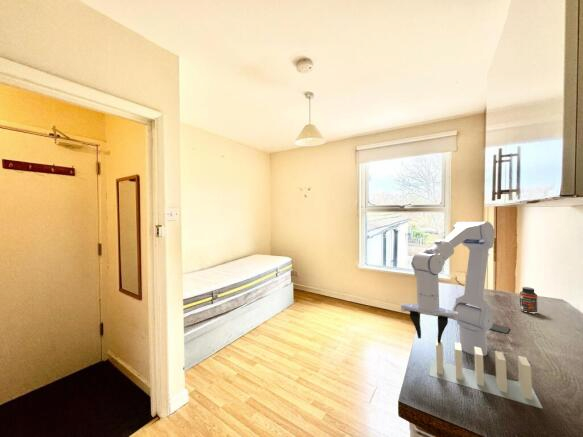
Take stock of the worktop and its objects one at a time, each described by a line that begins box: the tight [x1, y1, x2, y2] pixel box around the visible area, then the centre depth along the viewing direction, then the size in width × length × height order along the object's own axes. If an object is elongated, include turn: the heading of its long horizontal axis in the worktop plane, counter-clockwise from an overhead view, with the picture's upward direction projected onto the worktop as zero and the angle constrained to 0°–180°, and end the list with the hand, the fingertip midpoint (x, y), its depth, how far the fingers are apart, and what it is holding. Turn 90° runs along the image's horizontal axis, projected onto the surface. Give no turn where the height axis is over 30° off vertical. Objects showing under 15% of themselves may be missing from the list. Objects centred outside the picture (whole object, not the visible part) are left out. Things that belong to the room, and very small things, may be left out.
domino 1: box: [454, 341, 463, 380], centre depth 66 cm, size 4×2×8 cm, turn 146°
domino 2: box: [473, 346, 485, 386], centre depth 64 cm, size 4×2×8 cm, turn 146°
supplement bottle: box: [519, 286, 539, 312], centre depth 112 cm, size 6×6×11 cm
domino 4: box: [517, 355, 533, 400], centre depth 59 cm, size 4×2×8 cm, turn 146°
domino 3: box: [494, 350, 508, 393], centre depth 61 cm, size 4×2×8 cm, turn 146°
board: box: [429, 359, 544, 410], centre depth 64 cm, size 9×22×1 cm, turn 57°
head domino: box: [435, 338, 444, 375], centre depth 69 cm, size 4×2×8 cm, turn 147°
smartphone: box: [488, 323, 511, 335], centre depth 99 cm, size 7×1×15 cm
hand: (429, 339), depth 70 cm, fingers open, 4 cm apart
